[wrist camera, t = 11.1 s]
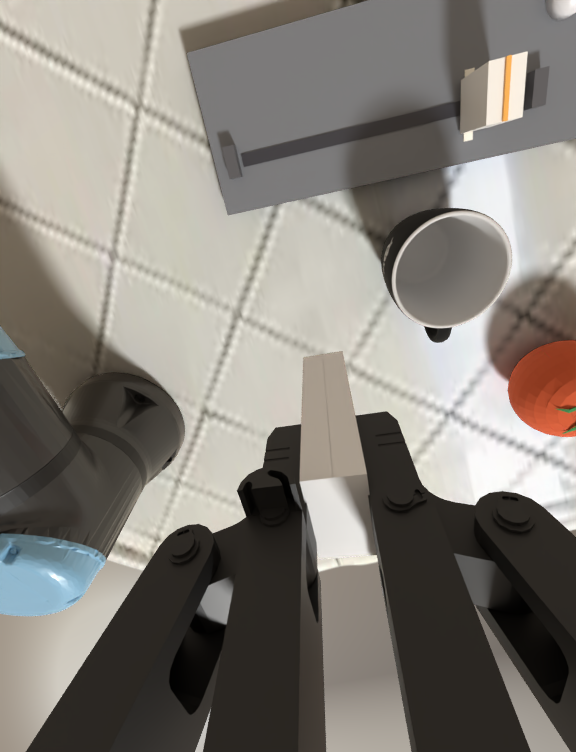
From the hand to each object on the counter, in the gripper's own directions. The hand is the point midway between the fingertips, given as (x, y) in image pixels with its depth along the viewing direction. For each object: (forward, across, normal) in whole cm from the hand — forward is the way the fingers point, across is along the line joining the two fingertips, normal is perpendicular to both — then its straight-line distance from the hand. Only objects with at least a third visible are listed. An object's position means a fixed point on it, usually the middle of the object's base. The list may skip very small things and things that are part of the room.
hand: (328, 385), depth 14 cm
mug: (+27, +10, -3) cm, 29 cm away
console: (+26, +8, +12) cm, 30 cm away
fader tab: (+24, +15, +10) cm, 30 cm away
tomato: (+27, +23, -17) cm, 39 cm away
